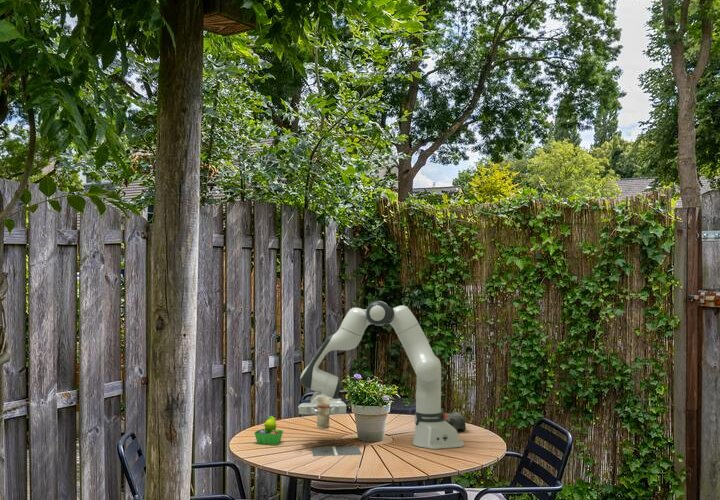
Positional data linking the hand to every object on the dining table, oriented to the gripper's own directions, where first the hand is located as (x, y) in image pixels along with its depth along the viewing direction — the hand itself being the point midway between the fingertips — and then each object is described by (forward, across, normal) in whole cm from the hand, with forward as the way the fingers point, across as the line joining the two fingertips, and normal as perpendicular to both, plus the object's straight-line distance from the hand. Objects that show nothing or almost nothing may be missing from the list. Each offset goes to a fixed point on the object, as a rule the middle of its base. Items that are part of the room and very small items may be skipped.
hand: (323, 412), depth 268 cm
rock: (-41, +65, +17) cm, 79 cm away
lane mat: (-1, +6, +17) cm, 18 cm away
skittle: (-1, 0, +7) cm, 7 cm away
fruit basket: (-23, -22, +18) cm, 36 cm away
